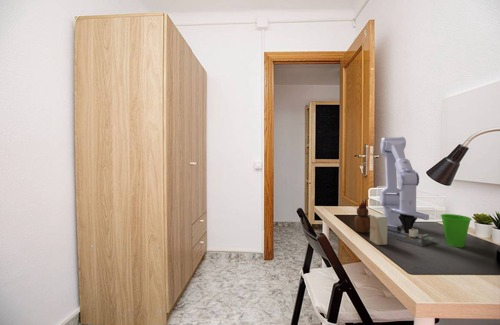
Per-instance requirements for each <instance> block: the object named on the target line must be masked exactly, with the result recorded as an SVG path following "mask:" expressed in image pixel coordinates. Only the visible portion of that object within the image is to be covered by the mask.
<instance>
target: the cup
mask: <svg viewBox="0 0 500 325" xmlns="http://www.w3.org/2000/svg"><path fill="white" fill-rule="evenodd" d="M440 217H441V221H442V226H443V232H444V238H445V242H446V244H447V245H448V246H450V247H454V248H464V246H465V244H466V241H467V235H468V231H469V227H470V225H471V224H470V223H471V221H472V218H471V217H469V216H466V215H461V214H455V213H454V214H453V213H452V214H451V213H443V214H440Z"/></svg>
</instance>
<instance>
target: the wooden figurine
mask: <svg viewBox="0 0 500 325" xmlns="http://www.w3.org/2000/svg"><path fill="white" fill-rule="evenodd" d="M358 205H359V206H358V207H357V208H356V214H357V215H355V217H354V221H353V222H354V226H355V230H356V231H357V232H359V233H363V234H366V233H369V232H370V215H369V209H368V208H367V199H366V198H365V201H364V200H362V202H361V203H360V204H358ZM368 215H369V216H368Z"/></svg>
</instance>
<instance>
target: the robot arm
mask: <svg viewBox="0 0 500 325" xmlns="http://www.w3.org/2000/svg"><path fill="white" fill-rule="evenodd" d="M406 143H407V141H406V138H405V137H404V136H400V137H399V136H397V137H396V136H394V137H381V140H380V143H379V144H380V146H379V147H380V148H379V149H380V154H381V155H383V156H384V166H385V167H384V169H385V187H384V188H383V189H381V190H380V192H379V204H380V205H381V206H382V207H383V208H382V209H383V212H382V215H384V216H386V217H388V222H387V226H390V227H394V228H396V226H397V225H398V226H401V227H402V228H403V230H404V232H405V233H407V234H409V229H412V228H413V226H414V224H415V223H416V221H417V220H418V219H422V220H424V221H428V220H430V218H429V217H430V215H429V214H427V213H423V212H419V211H417V186H418V185H419V184H420V176H419V173H418V172H417V171H416V170H414V169H413V167H412V164H411V162H410V161H411V160H409V159H408V158H406V154H405V148H406V146H407V144H406Z"/></svg>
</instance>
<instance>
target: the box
mask: <svg viewBox="0 0 500 325" xmlns="http://www.w3.org/2000/svg"><path fill="white" fill-rule="evenodd" d="M369 217H370V230H369V241H370V242H372V243H373V244H375V245H378V246H380V245H388V236H387V226H388V225H387V222H388V217H386V216H384V215H383V214H380V213H371V214H370V215H369Z"/></svg>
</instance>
